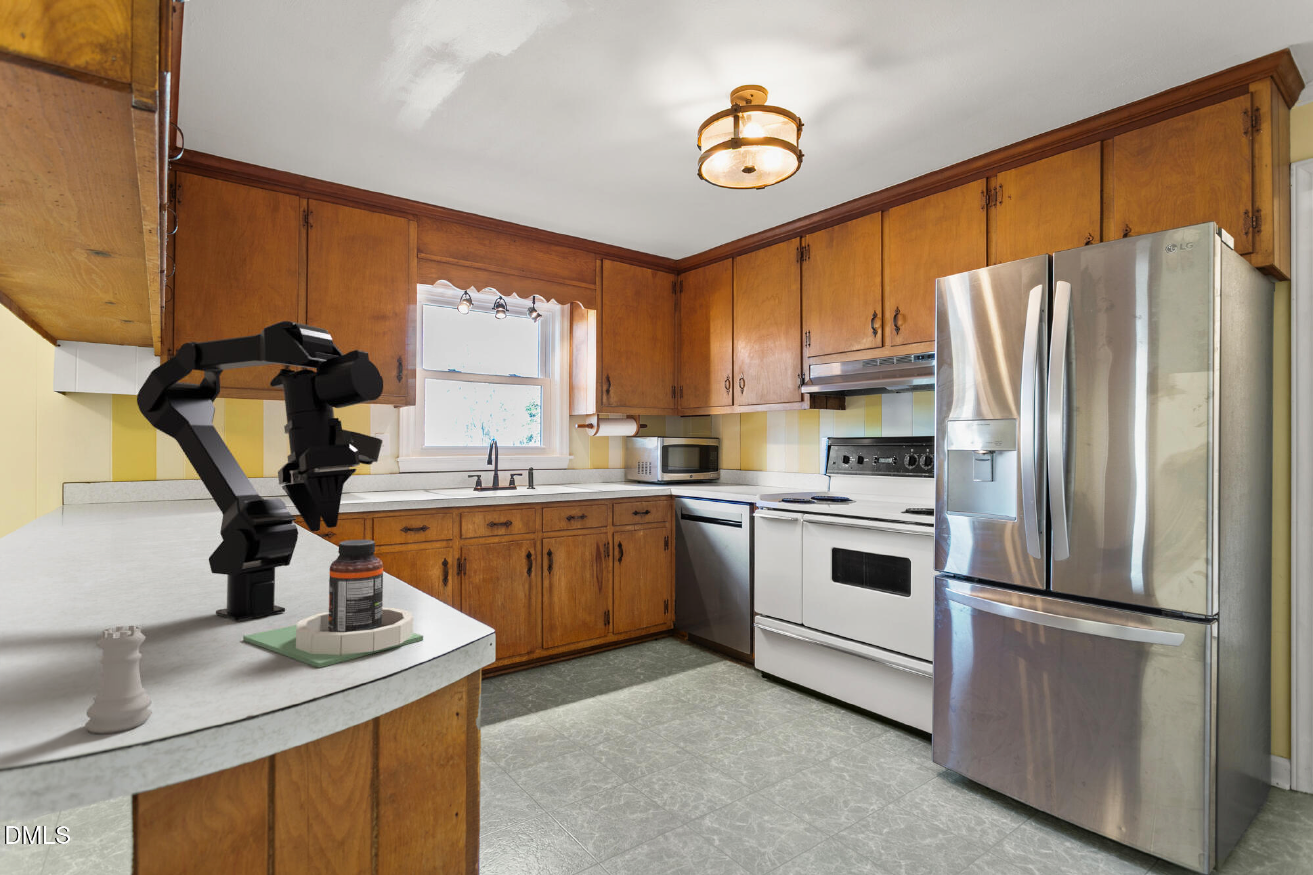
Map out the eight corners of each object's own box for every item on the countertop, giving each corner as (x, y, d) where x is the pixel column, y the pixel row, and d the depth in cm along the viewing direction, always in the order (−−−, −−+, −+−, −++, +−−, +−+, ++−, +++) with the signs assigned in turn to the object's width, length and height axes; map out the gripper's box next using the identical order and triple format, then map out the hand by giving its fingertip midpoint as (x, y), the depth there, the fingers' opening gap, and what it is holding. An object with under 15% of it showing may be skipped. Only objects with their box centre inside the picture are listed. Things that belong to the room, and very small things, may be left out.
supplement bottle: (331, 630, 82) (333, 539, 82) (383, 627, 84) (385, 537, 84) (324, 644, 77) (326, 545, 77) (380, 640, 79) (382, 544, 79)
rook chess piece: (114, 738, 54) (117, 638, 54) (69, 732, 55) (72, 634, 55) (165, 716, 58) (168, 624, 58) (123, 711, 59) (126, 620, 59)
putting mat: (243, 640, 81) (243, 635, 81) (345, 618, 91) (345, 614, 91) (319, 667, 71) (319, 663, 71) (423, 639, 82) (423, 635, 82)
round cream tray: (275, 641, 79) (275, 622, 79) (372, 619, 89) (373, 602, 89) (334, 661, 72) (334, 641, 72) (432, 635, 82) (433, 617, 82)
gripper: (393, 399, 88) (407, 516, 87) (354, 423, 102) (366, 524, 101) (299, 401, 81) (314, 529, 80) (272, 428, 95) (283, 536, 94)
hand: (323, 529), depth 89 cm, fingers open, 9 cm apart
